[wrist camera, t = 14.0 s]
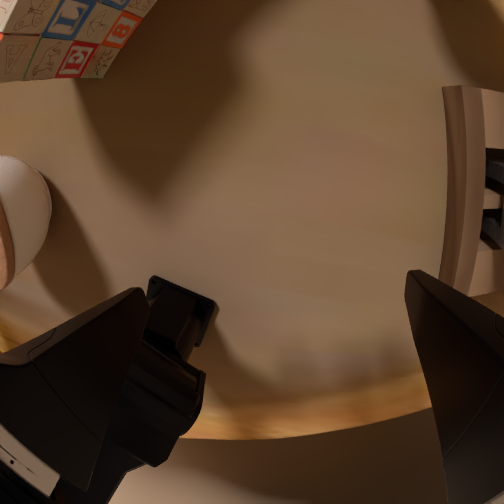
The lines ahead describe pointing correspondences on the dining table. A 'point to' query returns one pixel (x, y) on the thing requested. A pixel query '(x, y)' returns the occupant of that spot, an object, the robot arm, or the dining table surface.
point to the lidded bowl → (21, 216)
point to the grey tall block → (494, 220)
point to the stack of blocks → (64, 36)
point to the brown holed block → (471, 190)
